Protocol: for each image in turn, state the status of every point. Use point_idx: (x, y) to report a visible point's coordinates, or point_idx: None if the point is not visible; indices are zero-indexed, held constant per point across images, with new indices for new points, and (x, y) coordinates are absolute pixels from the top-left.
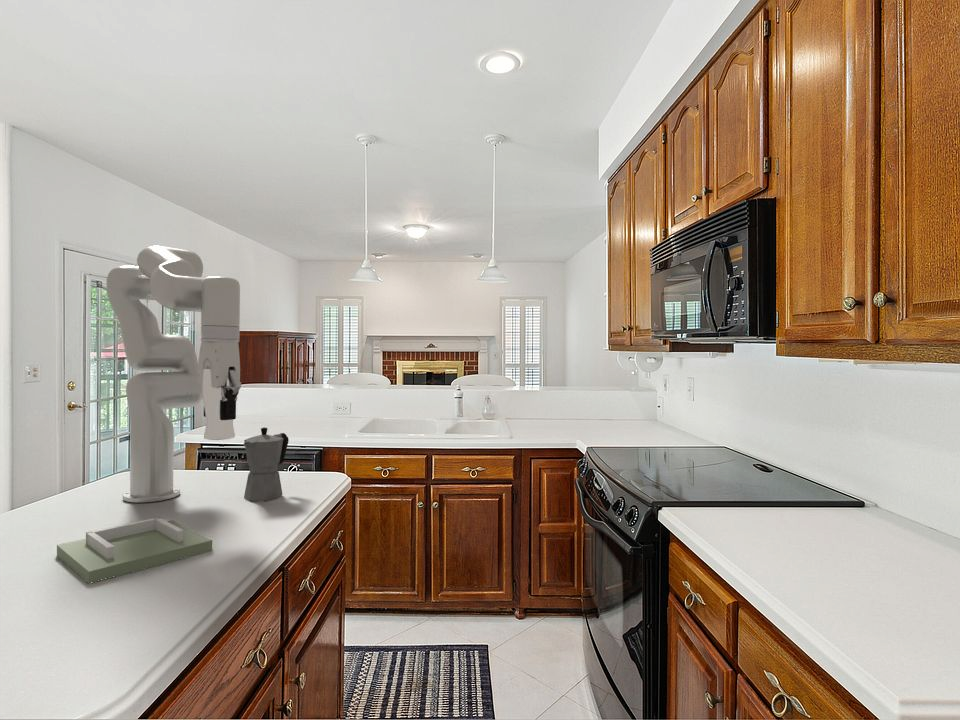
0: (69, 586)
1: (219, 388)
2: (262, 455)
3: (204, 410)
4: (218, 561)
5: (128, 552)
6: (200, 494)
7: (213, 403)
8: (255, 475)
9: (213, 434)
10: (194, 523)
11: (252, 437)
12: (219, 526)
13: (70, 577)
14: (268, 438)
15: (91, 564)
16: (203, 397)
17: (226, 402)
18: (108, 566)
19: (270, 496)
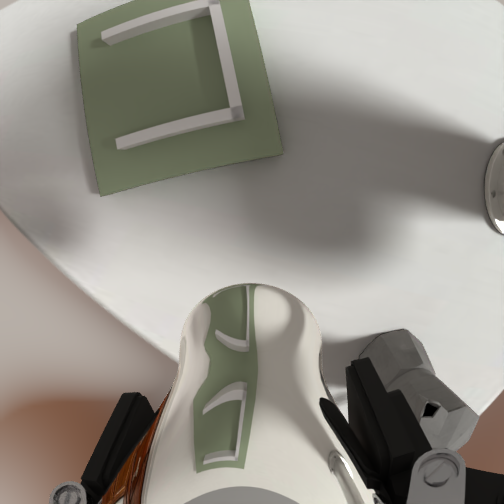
0: (93, 11)
1: None
2: None
3: (366, 384)
4: (62, 193)
5: (119, 63)
6: (482, 265)
7: (130, 451)
8: (397, 373)
9: (189, 321)
10: (299, 202)
11: (457, 426)
12: (245, 239)
13: None
14: None
15: (101, 21)
16: (224, 466)
17: (83, 486)
18: (78, 44)
19: None
